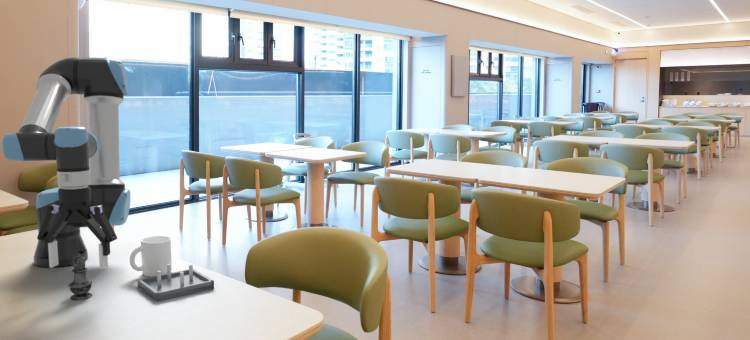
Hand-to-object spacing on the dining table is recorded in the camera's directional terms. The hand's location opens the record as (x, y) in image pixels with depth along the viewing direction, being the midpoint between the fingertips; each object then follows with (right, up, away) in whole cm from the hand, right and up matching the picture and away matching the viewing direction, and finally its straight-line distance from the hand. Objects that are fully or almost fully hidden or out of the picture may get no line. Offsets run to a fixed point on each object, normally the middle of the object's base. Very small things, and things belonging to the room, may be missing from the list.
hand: (78, 267), depth 154 cm
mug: (+11, -6, +20) cm, 24 cm away
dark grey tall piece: (0, -8, +2) cm, 9 cm away
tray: (+22, -7, +9) cm, 25 cm away
